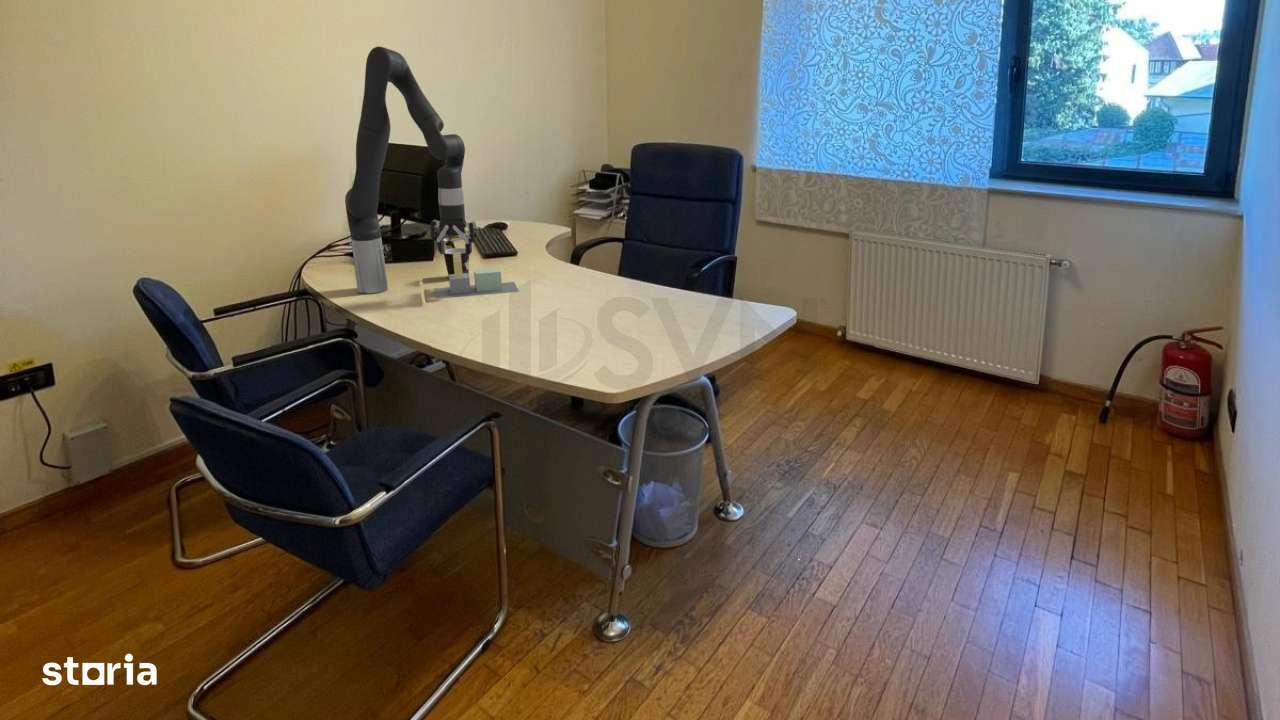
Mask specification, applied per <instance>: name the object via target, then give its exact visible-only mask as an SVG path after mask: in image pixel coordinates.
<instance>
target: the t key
mask: <svg viewBox="0 0 1280 720" xmlns="http://www.w3.org/2000/svg"><path fill="white" fill-rule="evenodd" d="M453 262H454V273H455V278H462V277H463V273H462V262H461V252H453Z"/></svg>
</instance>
